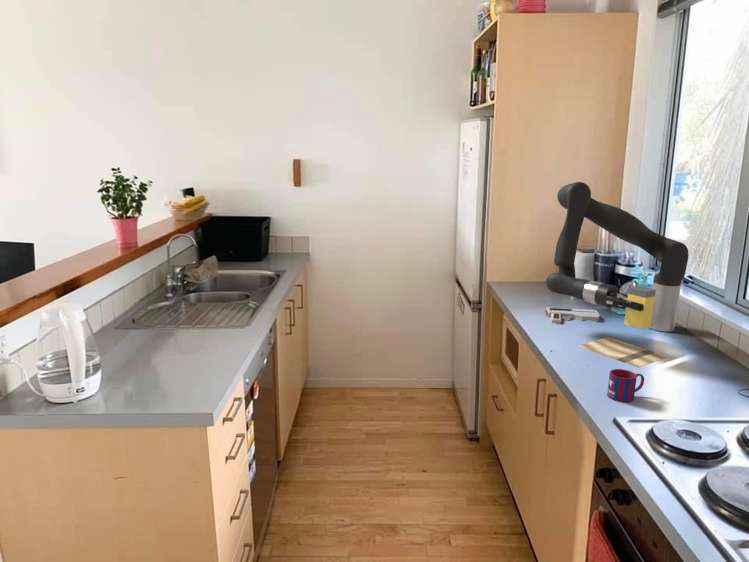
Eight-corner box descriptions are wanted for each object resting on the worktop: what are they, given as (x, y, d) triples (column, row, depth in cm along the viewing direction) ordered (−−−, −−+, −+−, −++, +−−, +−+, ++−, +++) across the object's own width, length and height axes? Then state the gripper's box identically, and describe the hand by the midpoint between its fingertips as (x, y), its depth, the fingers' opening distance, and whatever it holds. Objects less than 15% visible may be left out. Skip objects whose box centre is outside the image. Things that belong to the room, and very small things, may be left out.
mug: (602, 392, 162) (605, 369, 161) (636, 391, 164) (639, 368, 162) (615, 402, 156) (618, 379, 154) (650, 401, 157) (653, 377, 156)
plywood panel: (607, 340, 205) (607, 337, 205) (668, 360, 188) (668, 356, 187) (576, 349, 196) (576, 345, 195) (637, 370, 178) (638, 367, 178)
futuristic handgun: (606, 321, 220) (596, 309, 234) (551, 318, 222) (545, 306, 237) (605, 328, 221) (595, 315, 235) (550, 325, 223) (544, 313, 237)
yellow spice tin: (633, 321, 190) (638, 285, 187) (650, 326, 185) (655, 289, 182) (624, 323, 187) (628, 287, 184) (641, 329, 182) (646, 291, 180)
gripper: (588, 285, 191) (636, 298, 178) (614, 280, 199) (662, 292, 185) (585, 307, 193) (633, 321, 179) (612, 302, 201) (659, 314, 187)
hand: (647, 306), depth 182 cm, fingers closed on yellow spice tin, 5 cm apart
